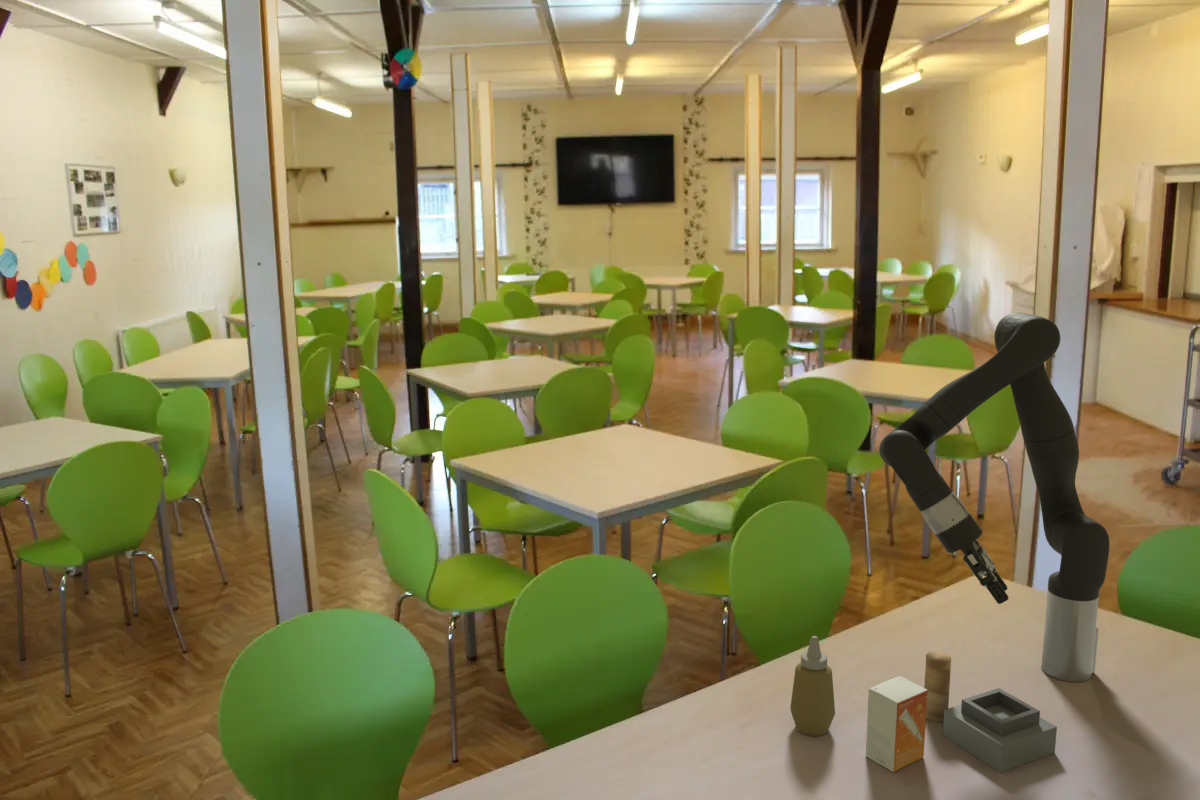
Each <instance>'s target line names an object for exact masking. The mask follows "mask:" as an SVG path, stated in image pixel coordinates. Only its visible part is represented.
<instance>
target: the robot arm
mask: <svg viewBox="0 0 1200 800" xmlns="http://www.w3.org/2000/svg"><path fill="white" fill-rule="evenodd" d="M993 338H994V344H995V345H994V346H995V348H996V349H995V350H996V351H997V352H996V353H995V354H994V355H993V356H992V357H990V358H989V359H988V360H986V361H985V362H984V363H982V364H981V365H979V366H977V367H976V368H974V369H973V370H971V371H969V372H967V373H965V374H963V375H961V376H959V377H958V378H955V379H954V380H952V381H951V382H948V383H947V384H945V385H944V386H942V388H940V389H938V391H936V392H935V393H934V394H933V395H932V396H931V397H930V398H928V399H927V400H926V401H925V402H924V403H922V405H921V406H919V407H918V409H917V410H916V411H915V412H914V413H913V414H912V415H910V416H909V417H908V418H907V419H905V420H904V421H903V422H901V423H900V424H899V425H898V426H896V427H895V428H894V429H893V430H891V431H890V432H889V433H887V435H885V436H884V437H883V439H882V440H881V441H880V444H879V448H878V449H879V456H880V458H881V460H882V461H883V462H884V463H885V464H886V465H888V466H889V467H891V468H892V470H893V471H894V473H895V474H896V475H897V476H898V478H899V479H900V480H901V482H902V483H903V484H904V486H905V490H906V492H907V494H908V495H909V497H910V499H911V500H912V502H913V503H914V504H915V506H916V508H918V511H920V513H921V515H922V517H923V518H924V520H925V522H926V524H927V525H928V527H929V528H930V530H931V531H932V533H933V534H934V535H935V536H936V538H937V539H938V541H939V542H940V543H941V546H942V547H943V548H944V549H945V551H946V552H947V553H948V554H954V553H956V552H957V551H961V552H962V554H963V559H962V560H963V562H964V563H965V564H966V566H968V568H969V569H970V570H971V572H972V574H973V576H975V578H976V579H977V580H978V581H979V584H980V586H982V587H985V588H986V589H987V591H988V592H989V594H991V596H992V597H993V599H994V600H995V601H996V603H997V604H1000V605H1001V604H1003V603H1005V602H1007V601H1009V595H1008V593H1007V592H1006V591H1007V590H1008V586H1007V584H1006V583H1005V581H1004V579H1003V578H1002V577H1001V576H1000V574H999V573H998V572H997V568H996V566H995V563H994V562H993V560H992V558H991V556H990V555H989V554H988V553H987V551H986V548H985V547H984V546H983V545H981V544H980V542H979V540H978V539H979V538H980V537H981V536H982V535H983V530H982V528H981V527H980V526H979V524H978V523H977V521H976V520H975V518H974V516H972V514H971V513H970V511H969V510H968V508H967V507H966V506H965V505H964V503H963V501H961V499H960V497H958V496H957V495H956V494H955V492H953V490H952V489H951V487H950V485H949V484H948V483H947V481H946V480H945V479H944V478H943V476H942V475H941V473H939V471H938V470H937V469H936V467H935V465H934V463H933V461H932V459H931V458H930V456H929V455H928V452H927V451H926V450H927V449H928V448H929V447H930V446H932V444H934V443H935V442H936V441H937V440H938V439H941V438H942V437H944V436H946V434H948V433H949V432H950V431H952V430H953V429H954V428H955V427H956V426H957V425H958V424H960V422H963V420H964V419H965V418H967V416H969V415H970V414H971V413H972V412H974V411H975V410H976V409H977V408H978V407H980V406H981V405H982V404H983V403H985V402H986V401H988V400H989V399H990V398H992V397H993V396H995V395H996V394H998V393H999V392H1001V391H1002V390H1003V389H1005V388H1007V386H1010V389H1011V393H1012V397H1013V403H1014V406H1015V410H1016V415H1017V418H1018V422H1019V425H1020V430H1021V436H1022V438H1023V439H1022V440H1023V442H1024V446H1025V451H1026V454H1027V456H1028V460H1029V464H1030V467H1031V471H1032V475H1033V478H1034V482H1035V485H1036V489H1037V491H1038V496H1039V503H1040V507H1041V508H1040V510H1041V517H1042V518H1041V519H1042V524H1043V531H1044V536H1045V538H1046V541H1047V544H1048V545H1049V546H1050V547H1051V549H1053V551H1055V552H1056V553H1057V554H1059V555H1060V556H1061V557H1060V564H1059V565H1060V566H1059V571H1055V572H1053V573H1050V575H1049V576H1048V582H1047V594H1046V606H1045V620H1044V631H1043V643H1042V644H1043V645H1042V653H1041V654H1042V657H1041V670H1042V671H1043V672H1044V673H1045V674H1046V675H1048V676H1050V677H1053V678H1056V679H1058V680H1062V681H1066V682H1071V683H1072V682H1075V683H1077V682H1079V683H1080V682H1085V681H1089V680H1090V679H1091V678H1092V675H1093V674H1094V673H1095V672H1096V661H1097V650H1098V640H1099V628H1097V621H1098V610H1099V600H1100V599H1099V597H1100V589H1101V588H1102V587H1103V584H1104V583H1105V580H1106V575H1107V569H1108V568H1107V567H1108V564H1109V563H1108V562H1109V555H1110V554H1109V553H1110V537H1109V533H1108V531H1107V529H1106V528H1105V526H1103V525H1102V524H1100V523H1099V522H1098V521H1096V520H1094V519H1093V518H1091V517H1089V516H1088V515H1086V513H1085V512H1084V510H1083V507H1082V505H1081V501H1080V498H1079V494H1078V492H1077V488H1076V475H1077V470H1078V465H1079V460H1080V449H1079V448H1080V447H1079V442H1078V439H1077V435H1076V430H1075V426H1074V423H1073V419H1072V417H1071V415H1070V413H1069V412H1068V409H1067V408H1066V406H1065V404H1064V403H1063V401H1062V399H1061V397H1060V396H1059V394H1058V393H1057V391H1056V390H1055V388H1054V386H1053V384H1052V382H1051V381H1050V378H1049V376H1048V375H1049V374H1048V373H1047V369H1046V365H1045V363H1046V362H1047V361H1048V360H1050V359H1051V358H1052V357H1053V356H1054V355H1055V354H1056V352H1057V351H1058V349H1059V347H1060V344H1061V332H1060V330H1059V328H1058V325H1057V324H1056V323H1054V322H1053V321H1052V320H1050V319H1049V318H1045V317H1043V316H1041V315H1040V316H1039V315H1036V314H1030V313H1025V312H1012V313H1008V314H1007V315H1004V316H1003V317H1002V318H1001V319H1000V320H999V322H998V323H997V325H996V327H995V331H994V337H993Z"/></svg>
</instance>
